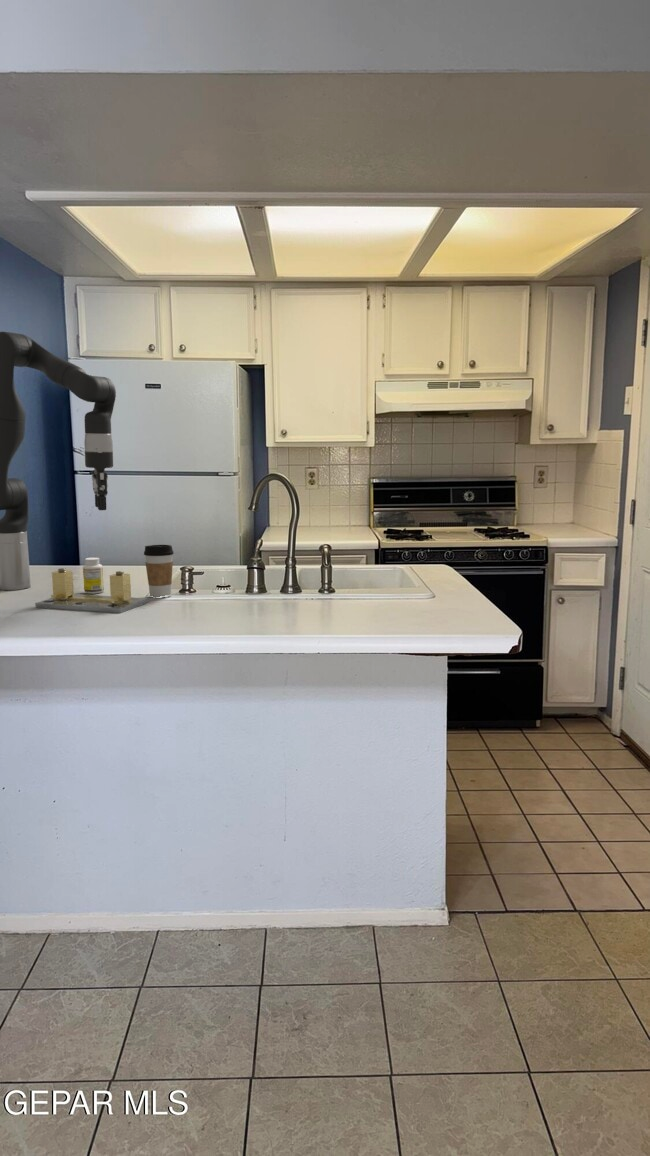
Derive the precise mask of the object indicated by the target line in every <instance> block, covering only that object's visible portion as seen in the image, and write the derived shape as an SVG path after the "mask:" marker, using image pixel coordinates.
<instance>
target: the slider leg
mask: <svg viewBox="0 0 650 1156" xmlns="http://www.w3.org/2000/svg"><path fill="white" fill-rule="evenodd" d="M73 574H74V573H73V571H72V570H67V568H64V567H63V568H58V569H57V570H56V571H53V572H51V579H52V593H53V594H51V596H50V598H53V601H55V600H56V599H65V600H66V599H68V597H67V596H70V597H74V594H75V591H74V578H73V576H74V575H73Z"/></svg>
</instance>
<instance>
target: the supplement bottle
mask: <svg viewBox="0 0 650 1156" xmlns="http://www.w3.org/2000/svg"><path fill="white" fill-rule="evenodd" d="M84 562H85V563H84V565H83V566H82V573H83V574H82V575H83V590H84V593H85V594H86V595H96V594H101V593H103V592H104V590H105V589H104V572H103V569H104V568H103V564H101V563H100V557H87V558H84Z"/></svg>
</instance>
